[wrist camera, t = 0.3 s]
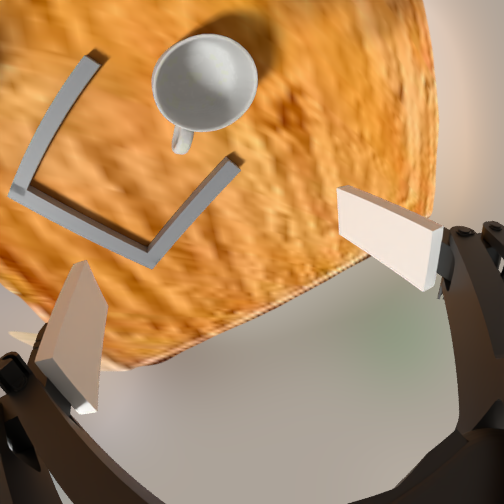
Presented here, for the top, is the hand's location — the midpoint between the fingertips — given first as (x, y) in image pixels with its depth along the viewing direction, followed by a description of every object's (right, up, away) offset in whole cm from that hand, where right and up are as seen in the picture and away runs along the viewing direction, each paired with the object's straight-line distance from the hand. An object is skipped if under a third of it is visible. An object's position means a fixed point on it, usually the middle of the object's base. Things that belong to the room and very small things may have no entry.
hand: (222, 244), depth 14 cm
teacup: (-6, +20, +17) cm, 27 cm away
